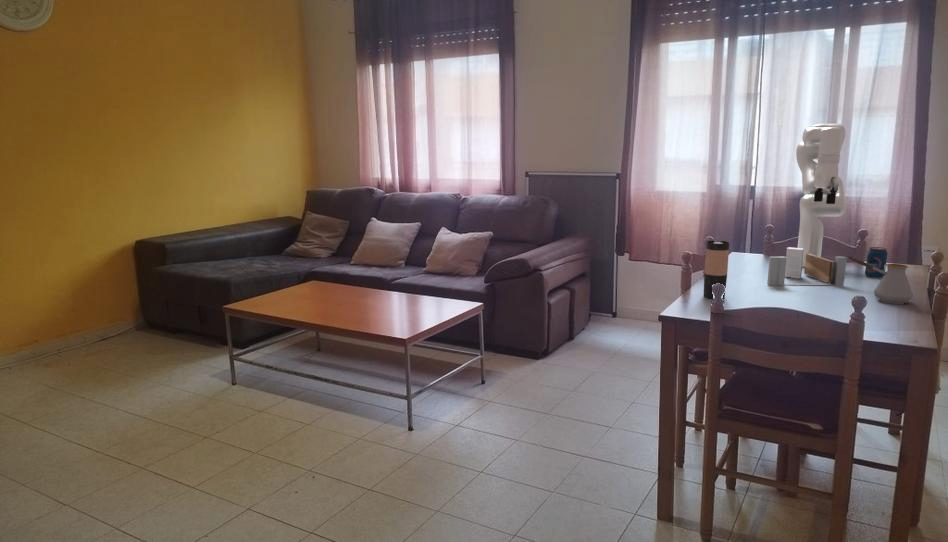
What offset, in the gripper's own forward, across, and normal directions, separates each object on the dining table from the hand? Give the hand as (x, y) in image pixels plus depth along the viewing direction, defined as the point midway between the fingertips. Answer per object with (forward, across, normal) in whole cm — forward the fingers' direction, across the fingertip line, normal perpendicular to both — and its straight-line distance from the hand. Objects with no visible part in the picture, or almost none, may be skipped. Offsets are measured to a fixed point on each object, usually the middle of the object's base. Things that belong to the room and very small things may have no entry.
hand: (824, 202), depth 260 cm
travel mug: (+31, +36, -54) cm, 72 cm away
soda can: (+31, +1, +23) cm, 38 cm away
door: (+30, +7, -3) cm, 31 cm away
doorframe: (+30, +16, -12) cm, 36 cm away
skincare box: (+31, +2, -10) cm, 32 cm away
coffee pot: (+31, +40, +1) cm, 50 cm away
